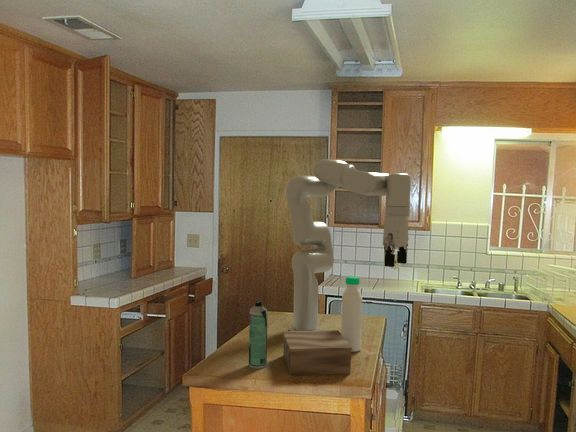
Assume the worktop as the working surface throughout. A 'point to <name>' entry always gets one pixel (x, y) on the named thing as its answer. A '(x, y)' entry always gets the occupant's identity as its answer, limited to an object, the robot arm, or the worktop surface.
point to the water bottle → (352, 314)
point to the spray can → (258, 336)
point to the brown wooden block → (316, 352)
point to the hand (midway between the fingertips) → (395, 264)
